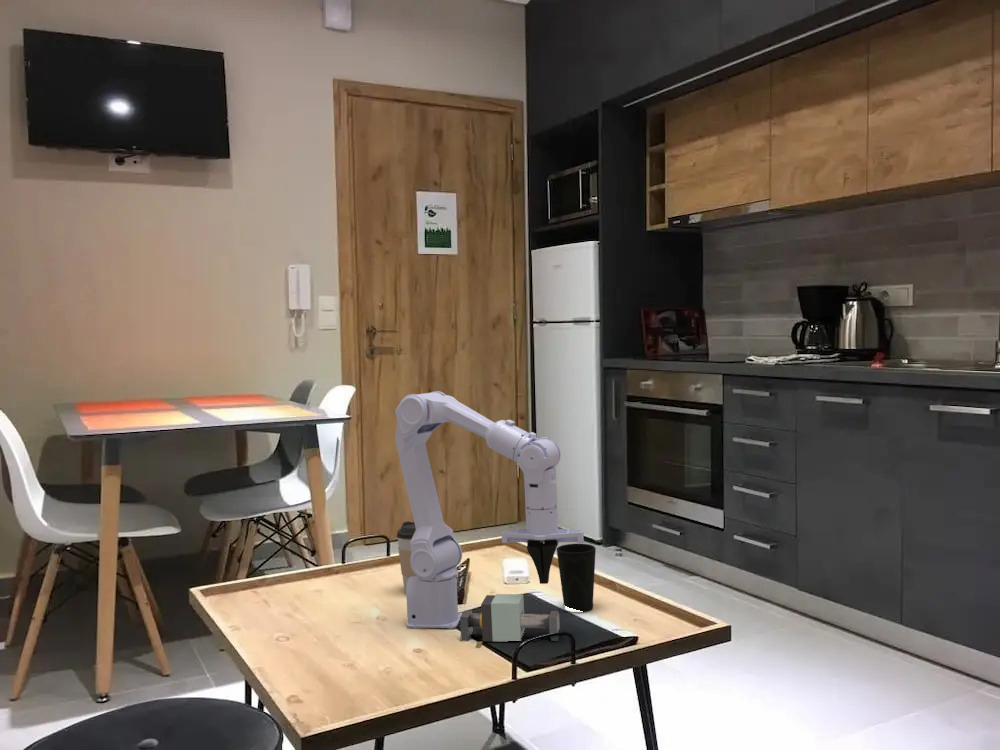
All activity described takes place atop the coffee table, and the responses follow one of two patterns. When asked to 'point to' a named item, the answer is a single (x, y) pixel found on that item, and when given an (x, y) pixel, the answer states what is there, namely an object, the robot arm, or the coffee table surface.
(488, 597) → the dark grey flat block
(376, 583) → the coffee table surface
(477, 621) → the grey shaft
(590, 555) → the cup
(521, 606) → the sleeve
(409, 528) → the coffee cup
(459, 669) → the coffee table surface
